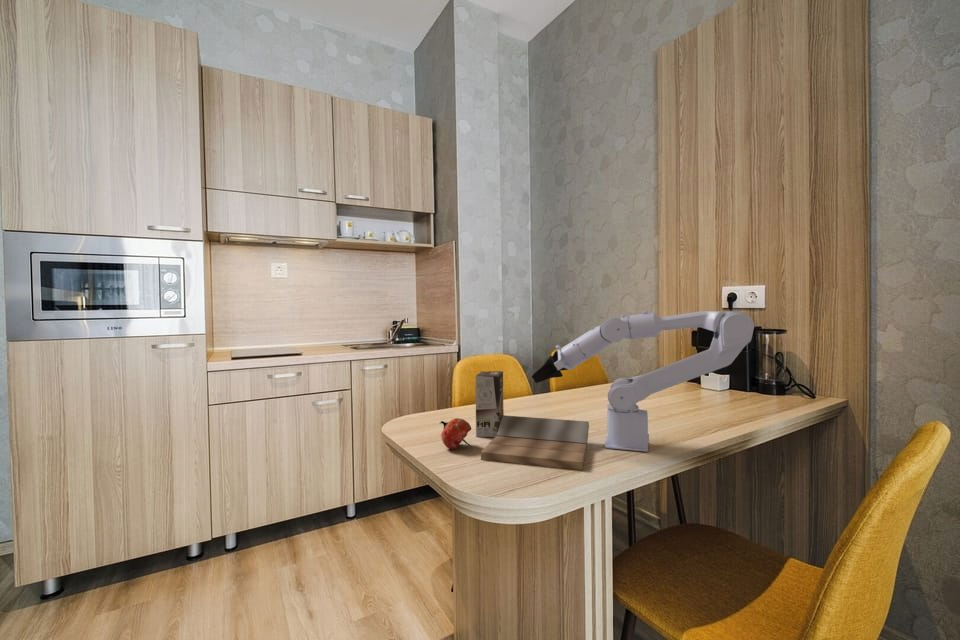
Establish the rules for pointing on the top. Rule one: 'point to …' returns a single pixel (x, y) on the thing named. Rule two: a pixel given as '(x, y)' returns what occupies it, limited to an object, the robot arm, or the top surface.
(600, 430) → the top surface
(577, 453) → the laid planks
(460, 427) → the red rounded piece
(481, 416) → the coffee box
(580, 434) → the charcoal plank
